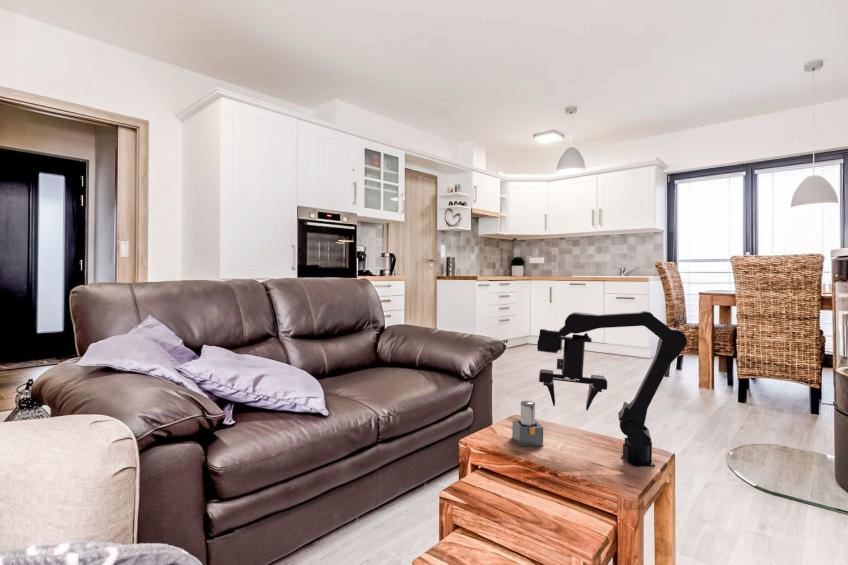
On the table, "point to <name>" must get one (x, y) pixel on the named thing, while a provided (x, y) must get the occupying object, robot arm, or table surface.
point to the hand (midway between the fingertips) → (570, 407)
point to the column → (527, 414)
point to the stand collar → (527, 434)
